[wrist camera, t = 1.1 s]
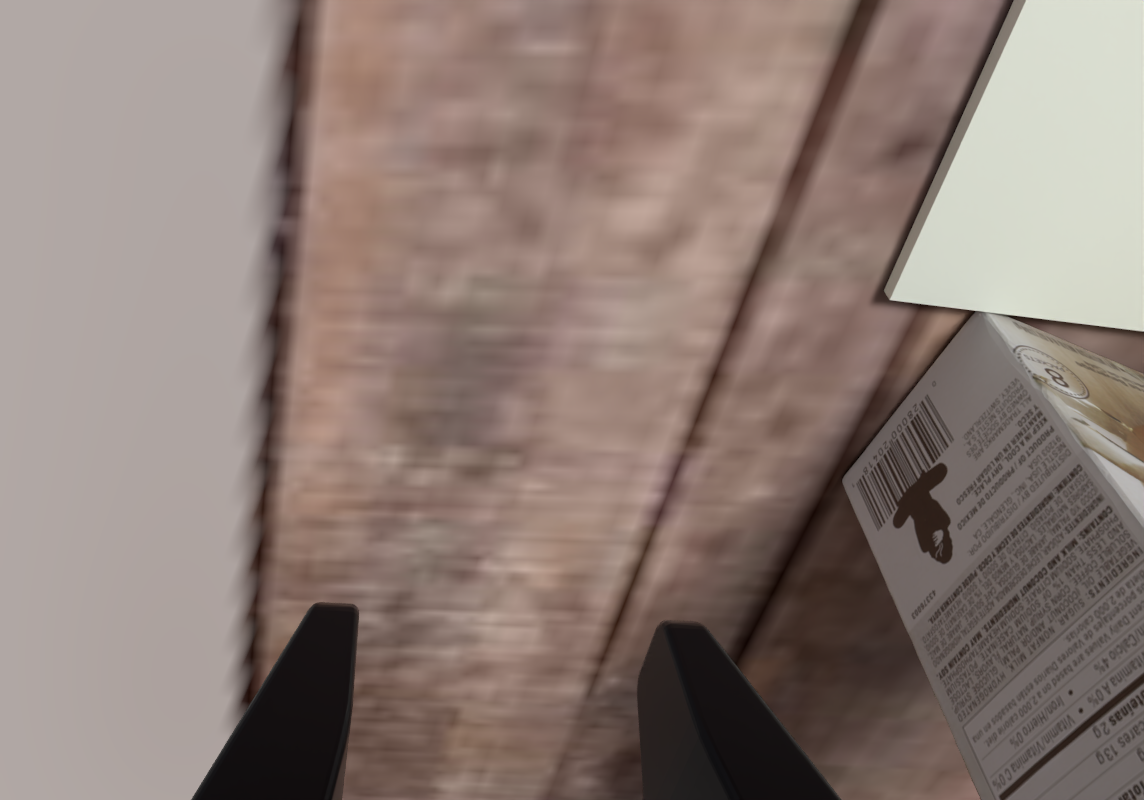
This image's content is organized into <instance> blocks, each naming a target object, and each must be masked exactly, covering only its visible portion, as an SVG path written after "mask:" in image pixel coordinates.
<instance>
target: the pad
mask: <svg viewBox="0 0 1144 800" xmlns="http://www.w3.org/2000/svg"><path fill="white" fill-rule="evenodd" d="M884 292H885V293H886V295H887V297H888V298H889V300H893V301H901V302H909V303H918V304H926V305H934V306H942V307H950V308H958V309H966V310H974V311H982V312H990V313H998V314H1006V315H1014V316H1022V317H1030V318H1039V319H1047V320H1055V321H1063V322H1071V323H1079V324H1087V325H1095V326H1103V327H1111V328H1119V329H1127V330H1135V331H1143V332H1144V0H1014V1H1013V3H1012V6H1011V8H1010V10H1009V12H1008V15H1007V17H1006V19H1005V21H1004V23H1003V26H1002V28H1001V30H1000V32H999V35H998V37H997V39H996V41H995V44H994V46H993V48H992V50H991V52H990V55H989V57H988V59H987V61H986V64H985V66H984V68H983V70H982V73H981V75H980V77H979V79H978V81H977V84H976V86H975V88H974V90H973V93H972V95H971V97H970V99H969V102H968V104H967V106H966V108H965V110H964V113H963V115H962V117H961V119H960V122H959V124H958V126H957V128H956V131H955V133H954V135H953V137H952V139H951V142H950V144H949V146H948V148H947V151H946V153H945V155H944V157H943V160H942V162H941V164H940V166H939V168H938V171H937V173H936V175H935V177H934V180H933V182H932V184H931V186H930V189H929V191H928V193H927V195H926V197H925V200H924V202H923V204H922V206H921V209H920V211H919V213H918V215H917V218H916V220H915V222H914V224H913V226H912V229H911V231H910V233H909V235H908V238H907V240H906V242H905V244H904V247H903V249H902V251H901V253H900V256H899V258H898V260H897V262H896V264H895V267H894V269H893V271H892V273H891V276H890V278H889V280H888V282H887V285H886V287H885V289H884Z"/></svg>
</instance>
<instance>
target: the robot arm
mask: <svg viewBox="0 0 1144 800" xmlns="http://www.w3.org/2000/svg"><path fill="white" fill-rule="evenodd" d="M358 623H359V610H358V608H357V607H356V606H355V605H353V604H345V603H326V602H319V603H316V604H314V605H313V606H312V607H311V608H310V609H309V610H308V612H307V613H306V615H305V616H304V618H303V620H302V621H301V623H300V624H299V626H298V628H297V629H296V631H295V632H294V634H293V636H292V637H291V639H290V641H289V642H288V644H287V645H286V647H285V649H284V650H283V652H282V654H281V655H280V657H279V658H278V660H277V662H276V663H275V665H274V667H273V668H272V670H271V671H270V673H269V675H268V676H267V678H266V679H265V681H264V683H263V684H262V686H261V688H260V689H259V691H258V692H257V694H256V696H255V697H254V699H253V701H252V702H251V704H250V705H249V707H248V709H247V710H246V712H245V713H244V715H243V717H242V718H241V720H240V722H239V723H238V725H237V726H236V728H235V730H234V731H233V733H232V735H231V736H230V738H229V739H228V741H227V743H226V744H225V746H224V748H223V749H222V751H221V752H220V754H219V756H218V757H217V759H216V760H215V762H214V764H213V765H212V767H211V769H210V770H209V772H208V774H207V775H206V777H205V778H204V780H203V782H202V783H201V785H200V786H199V788H198V790H197V791H196V793H195V795H194V796H193V798H192V800H342V794H343V785H344V777H345V768H346V759H347V751H348V742H349V733H350V725H351V716H352V707H353V693H354V679H355V665H356V651H357V637H358ZM637 702H638V718H639V733H640V749H641V765H642V780H643V796H644V800H841V799H840V797H839V796H838V795H837V793H836V792H835V791H834V790H833V788H832V787H831V786H830V784H829V783H828V782H827V781H826V779H825V778H824V777H823V776H822V774H821V773H820V772H819V770H818V769H817V768H816V767H815V765H814V764H813V763H812V762H811V760H810V759H809V758H808V756H807V755H806V754H805V753H804V751H803V750H802V749H801V748H800V746H799V745H798V744H797V742H796V741H795V740H794V739H793V737H792V736H791V735H790V733H789V732H788V731H787V730H786V728H785V727H784V726H783V725H782V723H781V722H780V721H779V719H778V718H777V717H776V716H775V714H774V713H773V712H772V711H771V709H770V708H769V707H768V705H767V704H766V703H765V702H764V700H763V699H762V698H761V696H760V695H759V694H758V693H757V691H756V690H755V689H754V688H753V686H752V685H751V684H750V682H749V681H748V680H747V679H746V677H745V676H744V675H743V674H742V672H741V671H740V670H739V668H738V667H737V666H736V665H735V663H734V662H733V661H732V659H731V658H730V657H729V656H728V654H727V653H726V652H725V651H724V649H723V648H722V647H721V645H720V644H719V643H718V642H717V640H716V639H715V638H714V637H713V635H712V634H711V633H710V631H709V630H708V629H707V628H706V627H705V626H704V625H702V624H700V623H698V622H691V621H672V620H666V621H663V622H661V623H660V624H659V625H658V627H657V628H656V630H655V633H654V635H653V638H652V641H651V643H650V646H649V649H648V651H647V654H646V657H645V659H644V662H643V665H642V667H641V670H640V673H639V678H638V685H637Z"/></svg>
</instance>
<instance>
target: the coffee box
mask: <svg viewBox="0 0 1144 800" xmlns="http://www.w3.org/2000/svg"><path fill="white" fill-rule="evenodd" d="M842 483H843V485H844V488H845V491H846V493H847V496H848V498H849V500H850V503H851V505H852V507H853V510H854V512H855V514H856V517H857V519H858V521H859V523H860V525H861V527H862V530H863V532H864V534H865V536H866V539H867V541H868V543H869V545H870V548H871V550H872V552H873V555H874V557H875V559H876V561H877V564H878V566H879V568H880V571H881V573H882V575H883V578H884V580H885V582H886V585H887V587H888V590H889V592H890V594H891V596H892V598H893V601H894V603H895V605H896V608H897V610H898V612H899V614H900V617H901V619H902V621H903V623H904V626H905V628H906V630H907V632H908V634H909V636H910V638H911V640H912V643H913V645H914V648H915V650H916V653H917V655H918V658H919V660H920V662H921V664H922V667H923V669H924V671H925V673H926V676H927V678H928V680H929V683H930V685H931V688H932V690H933V692H934V695H935V697H936V698H937V700H938V702H939V705H940V707H941V710H942V712H943V714H944V716H945V718H946V720H947V723H948V725H949V727H950V730H951V732H952V734H953V737H954V739H955V742H956V744H957V746H958V749H959V751H960V753H961V755H962V757H963V760H964V762H965V765H966V767H967V770H968V772H969V774H970V777H971V779H972V781H973V783H974V785H975V787H976V790H977V792H978V794H979V796H980V798H981V800H1144V374H1142V373H1140V372H1138V371H1135V370H1133V369H1131V368H1128V367H1126V366H1124V365H1121V364H1119V363H1117V362H1114V361H1112V360H1110V359H1107V358H1105V357H1102V356H1100V355H1097V354H1095V353H1092V352H1090V351H1088V350H1085V349H1083V348H1081V347H1079V346H1076V345H1074V344H1072V343H1069V342H1067V341H1065V340H1062V339H1060V338H1058V337H1055V336H1053V335H1051V334H1048V333H1046V332H1044V331H1041V330H1039V329H1036V328H1034V327H1032V326H1029V325H1027V324H1024V323H1022V322H1020V321H1017V320H1015V319H1013V318H1011V317H1008V316H1006V315H1003V314H998V313H990V312H982V311H976V312H975V313H974V314H973V315H972V316H971V318H970V319H969V320H968V321H967V322H966V323H965V325H964V326H963V327H962V328H961V330H960V331H959V332H958V333H957V335H956V336H955V337H954V338H953V340H952V341H951V342H950V343H949V345H948V346H947V347H946V348H945V350H944V351H943V352H942V353H941V355H940V356H939V357H938V358H937V360H936V361H935V362H934V363H933V365H932V366H931V367H930V369H929V370H928V371H927V372H926V374H925V375H924V376H923V377H922V379H921V380H920V381H919V382H918V384H917V385H916V386H915V387H914V389H913V390H912V391H911V392H910V394H909V395H908V396H907V397H906V399H905V400H904V401H903V402H902V404H901V405H900V406H899V408H898V409H897V410H896V411H895V413H894V414H893V415H892V416H891V418H890V419H889V420H888V422H887V423H886V424H885V425H884V427H883V428H882V429H881V430H880V432H879V433H878V434H877V435H876V437H875V438H874V439H873V441H872V442H871V443H870V444H869V446H868V447H867V448H866V450H865V451H864V452H863V453H862V455H861V456H860V457H859V458H858V460H857V461H856V462H855V463H854V464H853V466H852V467H851V468H850V469H849V471H848V472H847V473H846V474H845V476H844V477H843V480H842Z"/></svg>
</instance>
